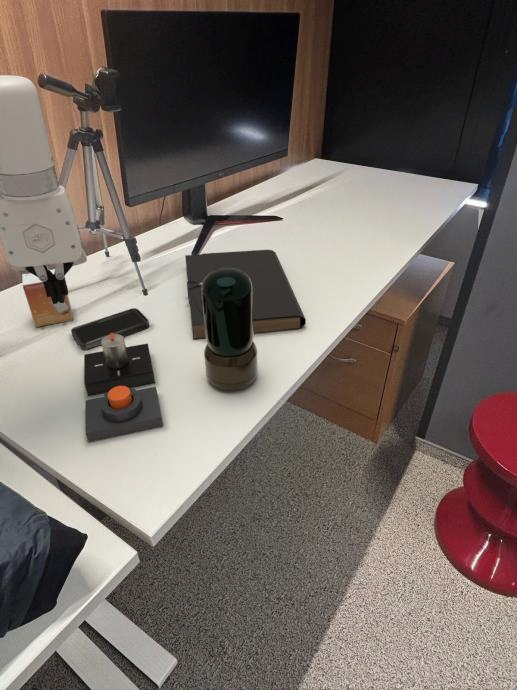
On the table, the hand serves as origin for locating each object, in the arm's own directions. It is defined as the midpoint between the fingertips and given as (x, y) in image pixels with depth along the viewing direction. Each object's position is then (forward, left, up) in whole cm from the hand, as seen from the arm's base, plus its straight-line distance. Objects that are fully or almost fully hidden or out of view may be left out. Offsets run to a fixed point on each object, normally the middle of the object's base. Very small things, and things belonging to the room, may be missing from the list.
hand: (59, 299), depth 75 cm
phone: (+5, +19, -20) cm, 28 cm away
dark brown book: (+35, +25, -20) cm, 48 cm away
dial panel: (+6, +3, -20) cm, 21 cm away
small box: (-7, +28, -20) cm, 35 cm away
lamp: (+26, -4, -20) cm, 33 cm away
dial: (+6, +3, -17) cm, 18 cm away
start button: (+6, -9, -16) cm, 19 cm away
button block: (+6, -9, -20) cm, 22 cm away
